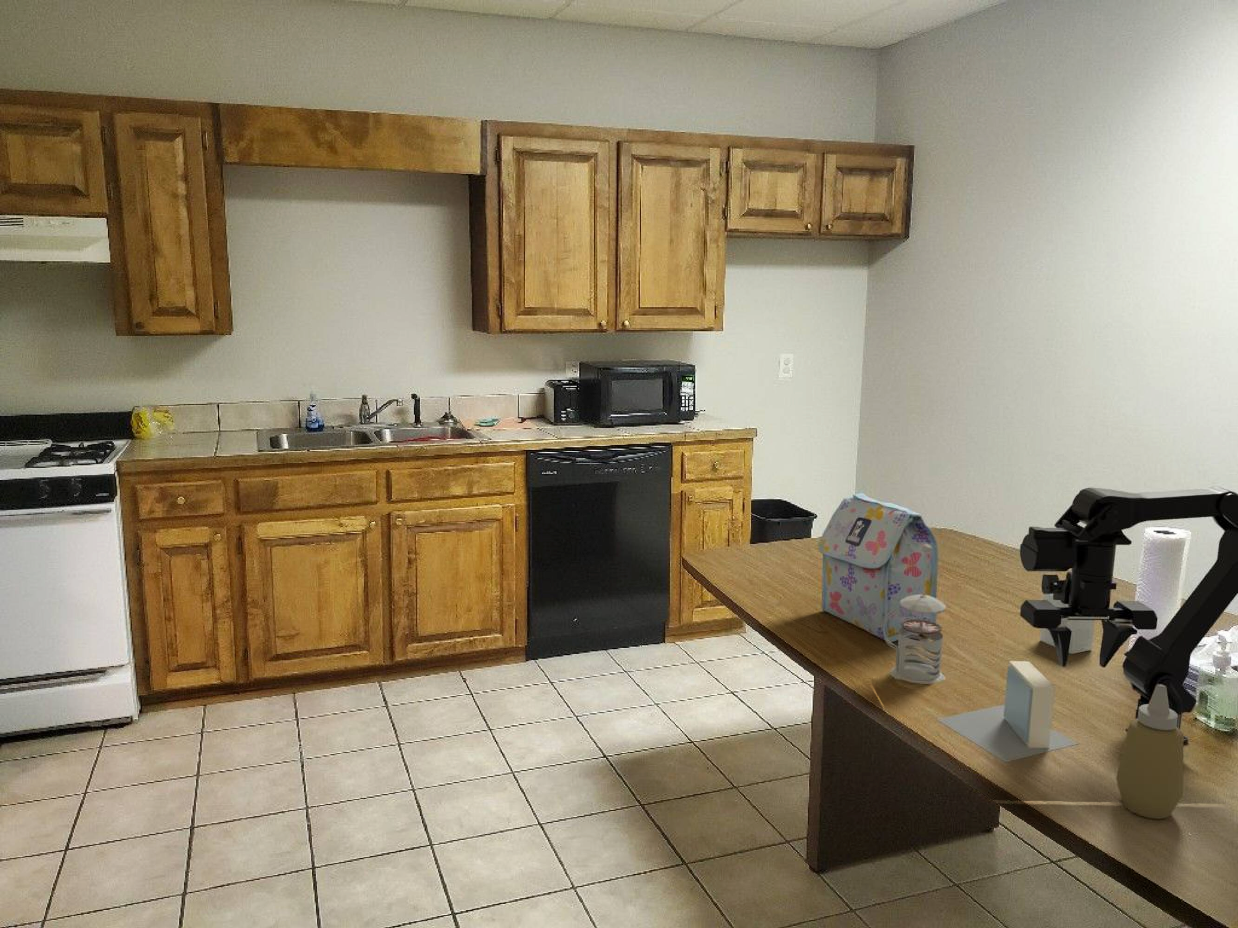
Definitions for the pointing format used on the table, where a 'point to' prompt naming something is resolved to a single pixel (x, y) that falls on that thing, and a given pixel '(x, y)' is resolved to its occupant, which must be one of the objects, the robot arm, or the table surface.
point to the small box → (1079, 628)
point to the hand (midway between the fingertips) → (1082, 666)
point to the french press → (912, 664)
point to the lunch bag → (876, 564)
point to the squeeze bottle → (1152, 760)
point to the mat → (999, 734)
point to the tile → (1029, 704)
